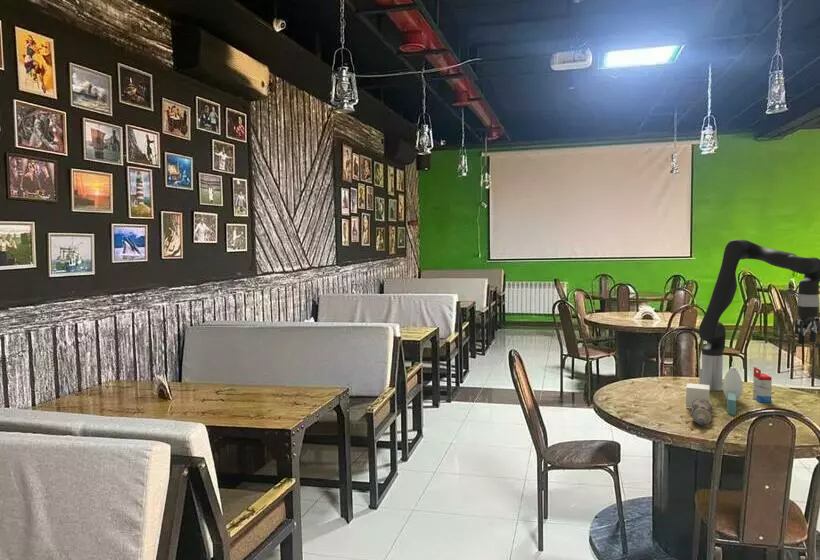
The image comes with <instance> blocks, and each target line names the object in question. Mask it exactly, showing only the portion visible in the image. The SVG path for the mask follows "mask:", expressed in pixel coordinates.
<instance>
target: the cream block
mask: <svg viewBox="0 0 820 560" xmlns="http://www.w3.org/2000/svg"><path fill="white" fill-rule="evenodd" d="M685 388H686V390H685V391H686V392H685V394H686V395H685V397H686V398H685V408H686V407H691V408H690V409H692V402H693V401H694V400H695V399H698V398H702V399H705V400H707V401H708V402H709V403H710V392H711V391H710V388H709V385H703V384H699V383H688V382H687V383H686V387H685Z"/></svg>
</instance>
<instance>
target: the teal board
mask: <svg viewBox="0 0 820 560" xmlns="http://www.w3.org/2000/svg"><path fill="white" fill-rule="evenodd" d="M726 409H727V414H728V415H733V416H734V415H735V416H736V415H737V401H736V396H735V392H730V391H727V398H726Z"/></svg>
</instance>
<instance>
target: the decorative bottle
mask: <svg viewBox="0 0 820 560" xmlns="http://www.w3.org/2000/svg"><path fill="white" fill-rule="evenodd" d="M690 417H691V418H692V420H693V421H694V422H695V423H696V424H698V425H701V426H702V425H703V424H704V425H708V424H710V423H711V421H712V405H711V403H710V401H709V402H708V401H707V400H705V399H702V398H698V399H695V400H694V401H693V402H692V408H691V414H690ZM704 425H703V426H704Z"/></svg>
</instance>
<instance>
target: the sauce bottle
mask: <svg viewBox="0 0 820 560" xmlns="http://www.w3.org/2000/svg"><path fill="white" fill-rule="evenodd" d="M723 378H724V379H723V381H722V391H723V394H724V396H725V398H726V399H727V391H730V392H735V396H736V402H737V401H738V400H739V399H740V398H741V396H742V395H743V392H744V391H743V389H744V387H743V385H744V384H743V380H742V377H741V375H740V373H739V371H738V370H737V367H735V364H734V361H732V366H730V367H729V369H728V371H727V372H726V374H725V376H724V377H723Z"/></svg>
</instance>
